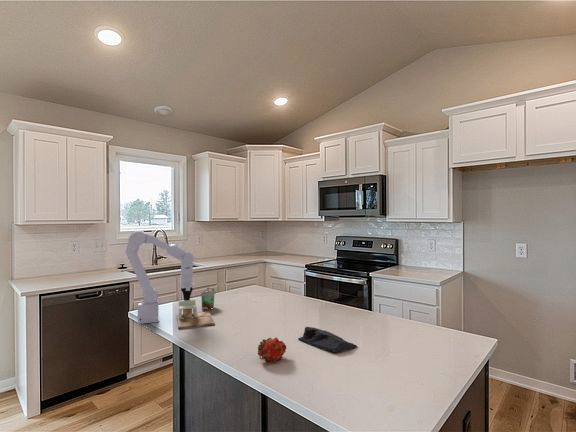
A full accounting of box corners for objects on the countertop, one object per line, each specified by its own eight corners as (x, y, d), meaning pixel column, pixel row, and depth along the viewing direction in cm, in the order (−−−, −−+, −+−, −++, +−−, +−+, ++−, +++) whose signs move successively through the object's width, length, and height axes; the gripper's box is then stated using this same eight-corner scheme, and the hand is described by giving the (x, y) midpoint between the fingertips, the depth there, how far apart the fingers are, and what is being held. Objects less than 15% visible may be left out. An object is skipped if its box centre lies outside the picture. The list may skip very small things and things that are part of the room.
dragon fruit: (254, 368, 112) (283, 364, 119) (266, 360, 107) (295, 357, 114) (250, 343, 117) (278, 341, 124) (261, 334, 112) (290, 332, 119)
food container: (212, 311, 175) (212, 292, 175) (201, 311, 175) (201, 292, 175) (218, 305, 188) (218, 287, 188) (207, 305, 188) (207, 287, 188)
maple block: (183, 320, 160) (183, 310, 160) (183, 318, 164) (183, 307, 164) (192, 319, 162) (192, 309, 162) (191, 317, 165) (191, 307, 165)
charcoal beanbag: (331, 358, 118) (331, 345, 118) (295, 339, 136) (295, 328, 136) (360, 348, 127) (360, 336, 127) (323, 332, 145) (323, 321, 145)
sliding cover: (179, 318, 158) (179, 304, 158) (178, 314, 165) (178, 301, 165) (196, 316, 161) (196, 302, 161) (195, 313, 168) (195, 299, 168)
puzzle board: (178, 329, 147) (178, 326, 147) (176, 316, 166) (176, 314, 166) (214, 325, 153) (214, 322, 153) (208, 313, 171) (208, 311, 172)
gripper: (196, 277, 162) (196, 305, 162) (193, 272, 176) (193, 298, 175) (181, 278, 159) (181, 306, 159) (179, 273, 173) (179, 299, 173)
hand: (186, 302), depth 167 cm, fingers closed
